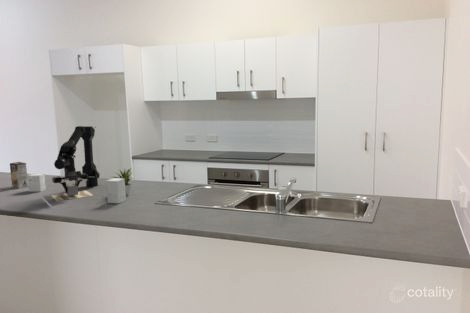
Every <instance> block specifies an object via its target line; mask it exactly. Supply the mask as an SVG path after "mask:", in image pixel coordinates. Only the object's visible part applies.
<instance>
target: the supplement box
mask: <svg viewBox="0 0 470 313" xmlns="http://www.w3.org/2000/svg"><path fill="white" fill-rule="evenodd" d="M105 184H106V197H107V203H108V204H120V203H123V202H125V200H127V196H126V195H127V194H126V193H125V179H121V178H120V177H119V178H113V177H112V178H110V179H107V180H105Z"/></svg>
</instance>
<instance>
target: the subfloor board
mask: <svg viewBox="0 0 470 313" xmlns="http://www.w3.org/2000/svg"><path fill="white" fill-rule="evenodd" d="M93 196H94V194H92V193H91V192H90V191H88V190H78V195H72V196H69V195H67V194H66V193H65V192H64V193H59V194H53V195H51V197H52V198H53V199H54V200H55V201H56V202H61V201H62V202H63V201H67V200H73V199H80V198H85V197H93Z"/></svg>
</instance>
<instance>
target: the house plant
mask: <svg viewBox="0 0 470 313" xmlns="http://www.w3.org/2000/svg"><path fill="white" fill-rule="evenodd" d="M131 169H132V167H131V168H129V169H127V170H126V169H124V171H123V170H121V169H118V171H119V172H120V174H119V173H118V172H117V171H116V172H115V171H114V174H116V175H117V176H118V177H117V176H112V179H113V178H121V179H125V193H126V197H128V196H130V195H131V187H132V184H131V183H129V182H130V180H132V179H133V177H131V175H132V173H133V171H132V170H131ZM127 195H128V196H127Z"/></svg>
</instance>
